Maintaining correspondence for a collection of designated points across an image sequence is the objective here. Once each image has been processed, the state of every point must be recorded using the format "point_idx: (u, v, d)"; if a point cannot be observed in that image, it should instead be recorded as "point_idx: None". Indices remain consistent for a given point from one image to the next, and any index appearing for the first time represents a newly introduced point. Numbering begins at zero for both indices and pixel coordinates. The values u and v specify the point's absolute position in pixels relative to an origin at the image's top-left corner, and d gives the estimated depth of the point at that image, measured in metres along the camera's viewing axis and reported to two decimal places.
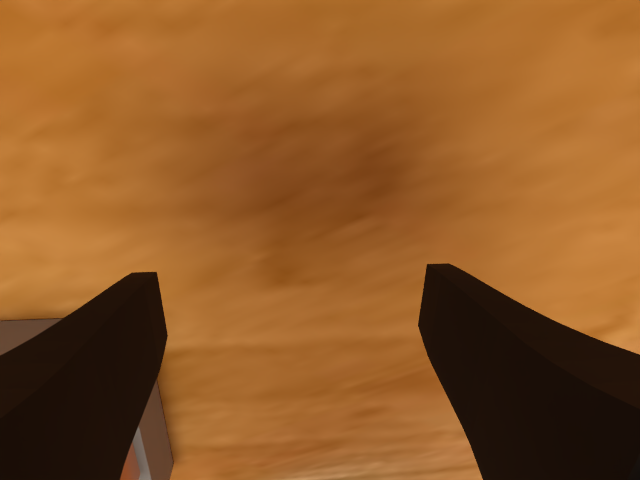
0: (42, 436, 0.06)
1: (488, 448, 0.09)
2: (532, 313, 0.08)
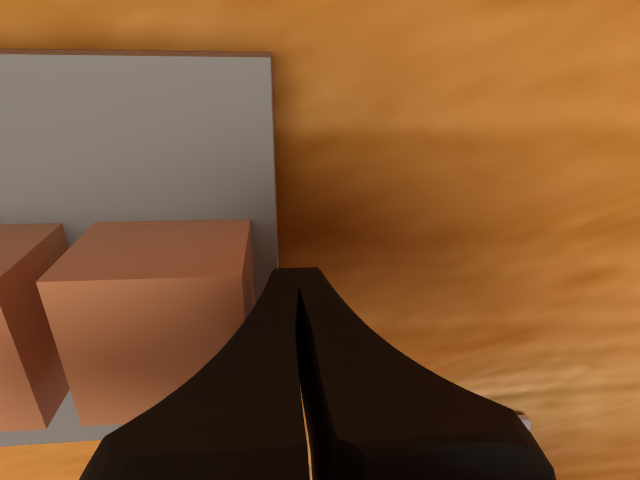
0: None
1: (313, 460, 0.08)
2: (354, 320, 0.08)
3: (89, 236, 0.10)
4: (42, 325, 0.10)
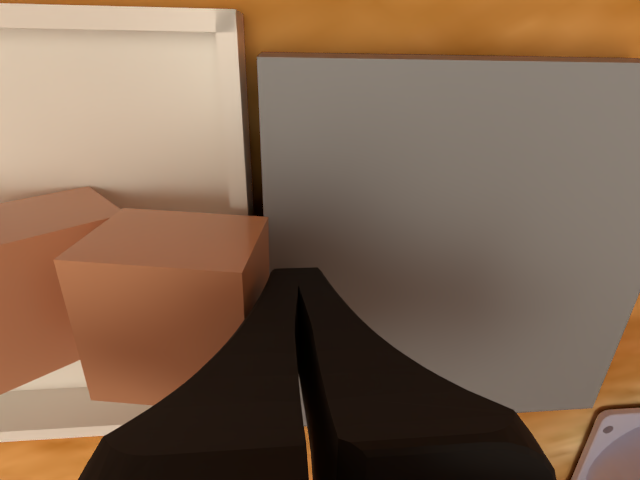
0: None
1: (314, 460, 0.08)
2: (354, 320, 0.08)
3: (113, 221, 0.11)
4: None
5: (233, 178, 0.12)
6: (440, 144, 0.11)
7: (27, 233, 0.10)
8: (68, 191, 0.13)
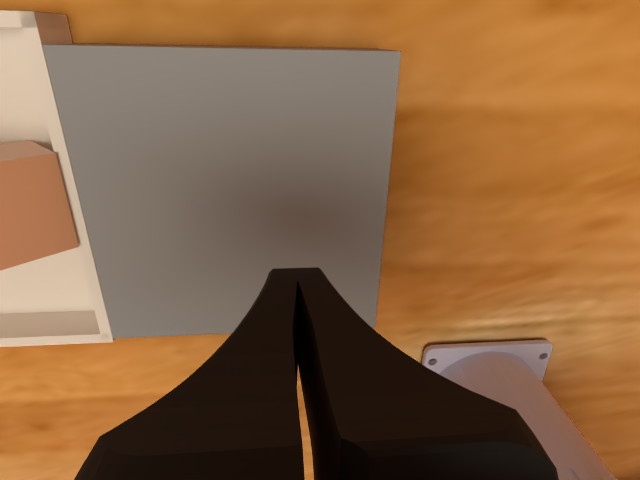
0: None
1: (315, 460, 0.08)
2: (356, 320, 0.08)
3: None
4: None
5: (54, 136, 0.16)
6: (193, 109, 0.15)
7: None
8: None
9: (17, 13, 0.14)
